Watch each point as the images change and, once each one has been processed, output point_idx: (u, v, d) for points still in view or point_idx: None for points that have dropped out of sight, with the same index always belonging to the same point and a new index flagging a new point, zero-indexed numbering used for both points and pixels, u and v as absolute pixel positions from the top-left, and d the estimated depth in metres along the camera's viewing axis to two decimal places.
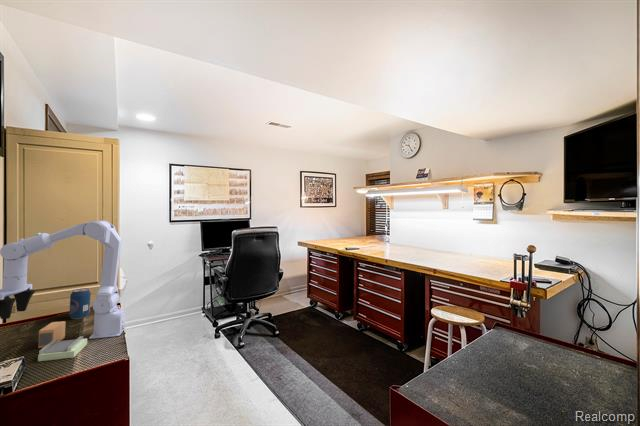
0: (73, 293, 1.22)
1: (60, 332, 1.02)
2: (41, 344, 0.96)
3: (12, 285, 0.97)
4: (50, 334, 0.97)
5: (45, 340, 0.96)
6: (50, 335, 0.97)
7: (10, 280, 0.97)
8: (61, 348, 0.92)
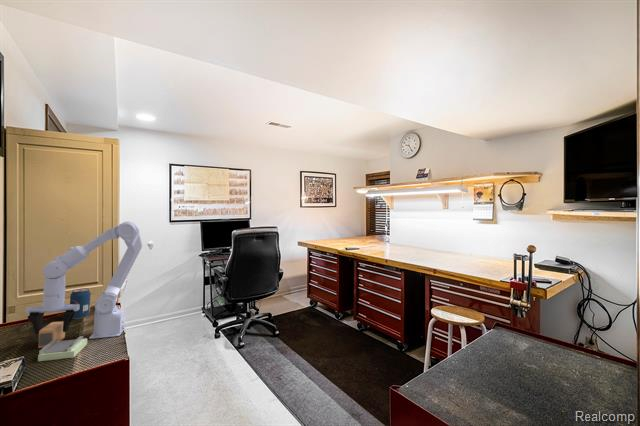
0: (73, 293, 1.22)
1: (60, 332, 1.02)
2: (41, 344, 0.96)
3: None
4: (50, 334, 0.97)
5: (45, 340, 0.96)
6: (50, 335, 0.97)
7: None
8: (61, 348, 0.92)
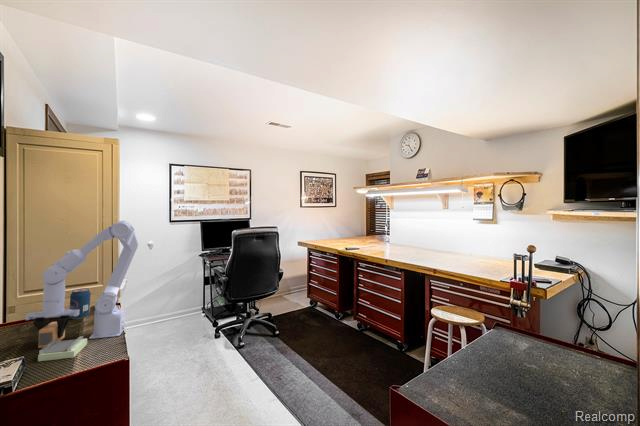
0: (73, 293, 1.22)
1: None
2: (41, 344, 0.96)
3: None
4: (50, 334, 0.97)
5: (45, 340, 0.96)
6: (50, 335, 0.97)
7: None
8: (61, 348, 0.92)
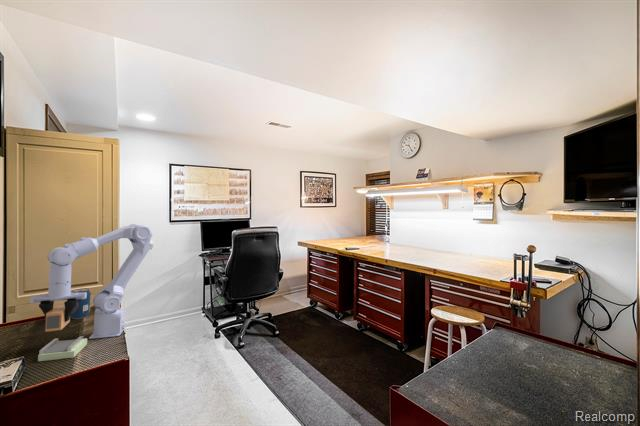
0: None
1: None
2: (49, 327, 0.93)
3: (48, 291, 0.95)
4: (58, 317, 0.94)
5: (53, 323, 0.93)
6: (58, 318, 0.94)
7: None
8: (61, 348, 0.92)
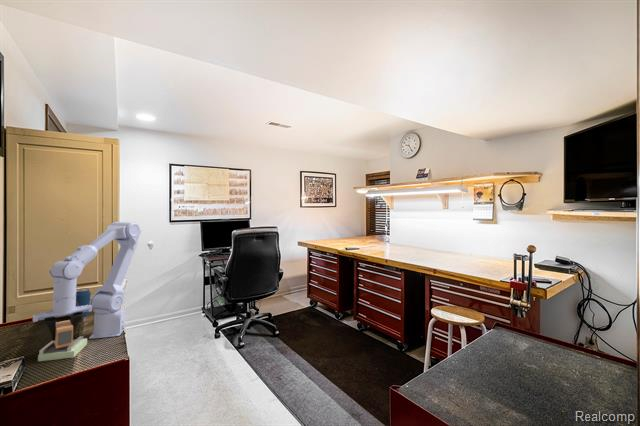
0: None
1: None
2: (60, 343, 0.90)
3: (53, 307, 0.91)
4: (70, 331, 0.92)
5: (65, 338, 0.91)
6: (70, 332, 0.92)
7: (53, 301, 0.91)
8: (61, 348, 0.92)
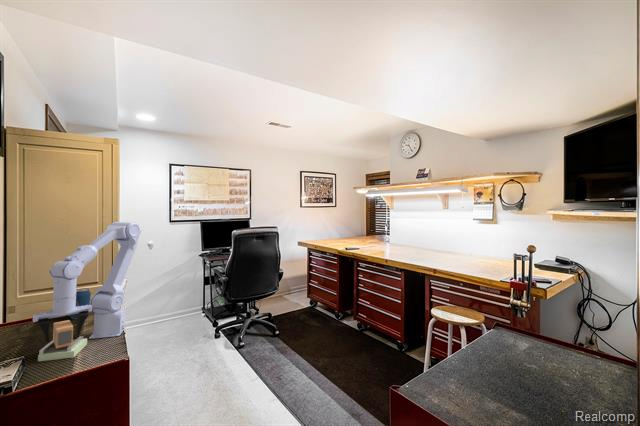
0: None
1: None
2: (60, 343, 0.90)
3: (53, 307, 0.91)
4: (70, 331, 0.92)
5: (65, 338, 0.91)
6: (70, 332, 0.92)
7: (53, 301, 0.91)
8: (61, 348, 0.92)
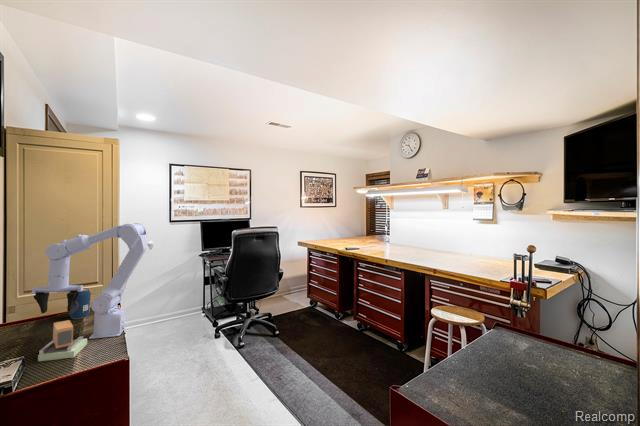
0: None
1: None
2: (60, 343, 0.90)
3: (48, 283, 1.03)
4: (70, 331, 0.92)
5: (65, 338, 0.91)
6: (70, 332, 0.92)
7: None
8: (61, 348, 0.92)
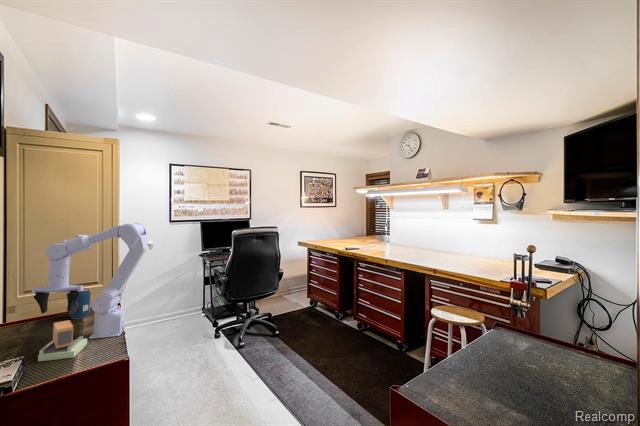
0: None
1: None
2: (60, 343, 0.90)
3: (48, 283, 1.03)
4: (70, 331, 0.92)
5: (65, 338, 0.91)
6: (70, 332, 0.92)
7: None
8: (61, 348, 0.92)
